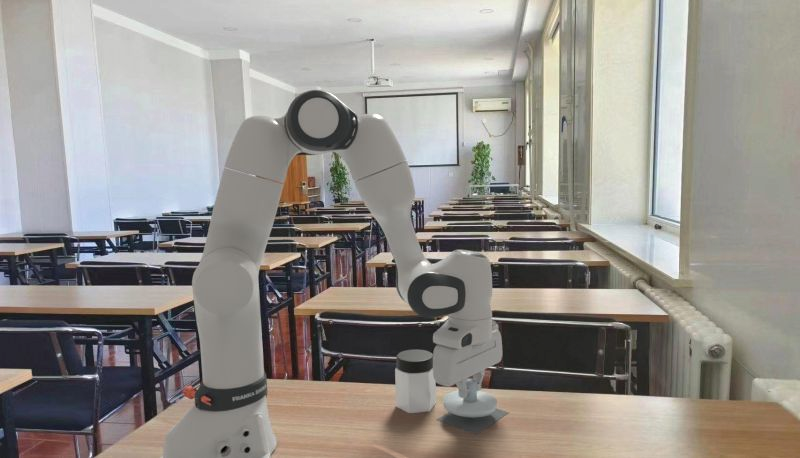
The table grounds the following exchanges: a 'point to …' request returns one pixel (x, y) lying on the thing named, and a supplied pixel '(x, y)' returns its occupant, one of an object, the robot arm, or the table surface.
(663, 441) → the table surface
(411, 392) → the jar
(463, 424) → the mat
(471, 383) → the lid
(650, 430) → the table surface
